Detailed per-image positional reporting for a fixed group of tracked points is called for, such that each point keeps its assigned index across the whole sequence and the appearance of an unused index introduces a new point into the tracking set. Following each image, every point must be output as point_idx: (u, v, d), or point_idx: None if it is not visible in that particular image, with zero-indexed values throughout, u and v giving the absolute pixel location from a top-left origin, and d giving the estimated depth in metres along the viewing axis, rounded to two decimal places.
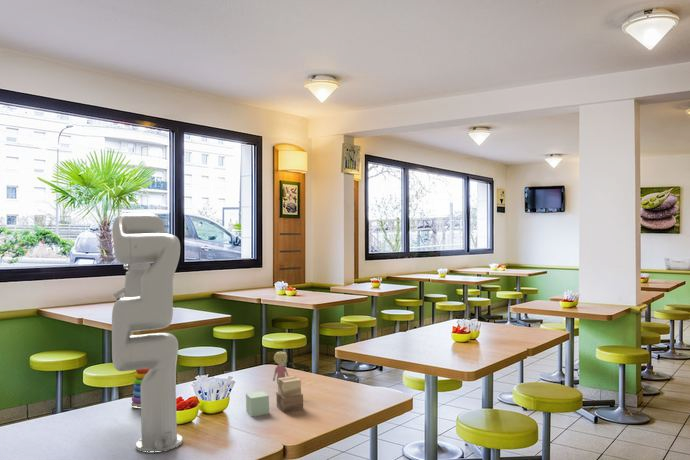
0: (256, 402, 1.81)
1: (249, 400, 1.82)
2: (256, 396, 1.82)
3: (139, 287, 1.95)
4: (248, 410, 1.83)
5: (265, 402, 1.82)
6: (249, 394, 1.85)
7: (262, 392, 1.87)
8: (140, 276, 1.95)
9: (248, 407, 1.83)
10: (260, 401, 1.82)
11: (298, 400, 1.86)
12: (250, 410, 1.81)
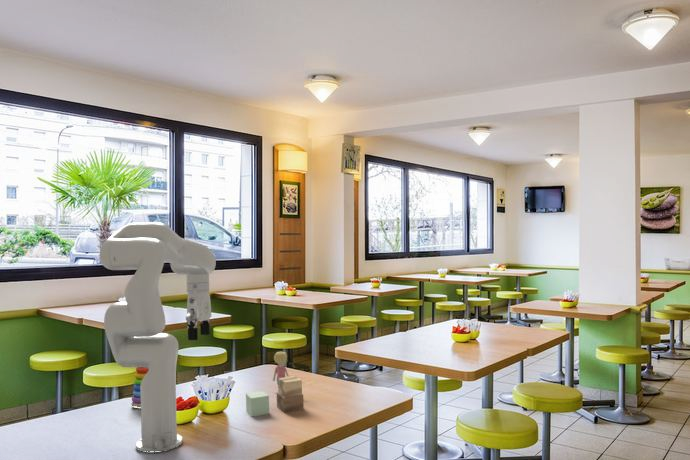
0: (256, 402, 1.81)
1: (249, 400, 1.82)
2: (256, 396, 1.82)
3: (205, 307, 1.90)
4: (248, 410, 1.83)
5: (265, 402, 1.82)
6: (249, 394, 1.85)
7: (262, 392, 1.87)
8: (205, 296, 1.91)
9: (248, 407, 1.83)
10: (260, 401, 1.82)
11: (298, 400, 1.86)
12: (250, 410, 1.81)
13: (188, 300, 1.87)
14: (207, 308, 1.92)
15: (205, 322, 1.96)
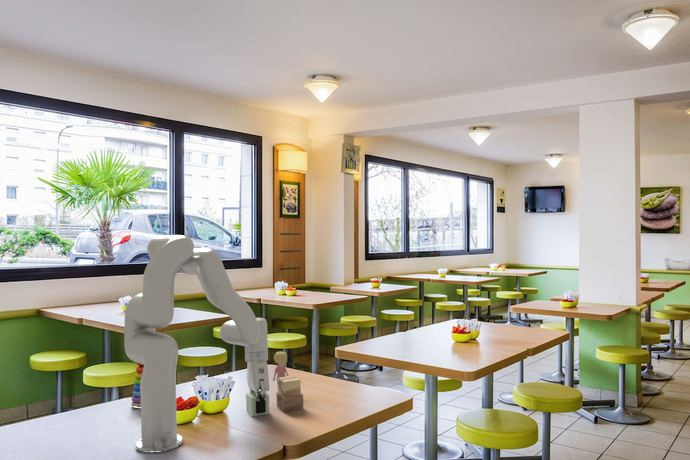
0: None
1: (249, 400, 1.82)
2: None
3: None
4: (248, 410, 1.83)
5: None
6: (249, 394, 1.85)
7: None
8: None
9: (248, 407, 1.83)
10: None
11: (298, 400, 1.86)
12: (250, 410, 1.81)
13: (256, 370, 1.80)
14: None
15: None
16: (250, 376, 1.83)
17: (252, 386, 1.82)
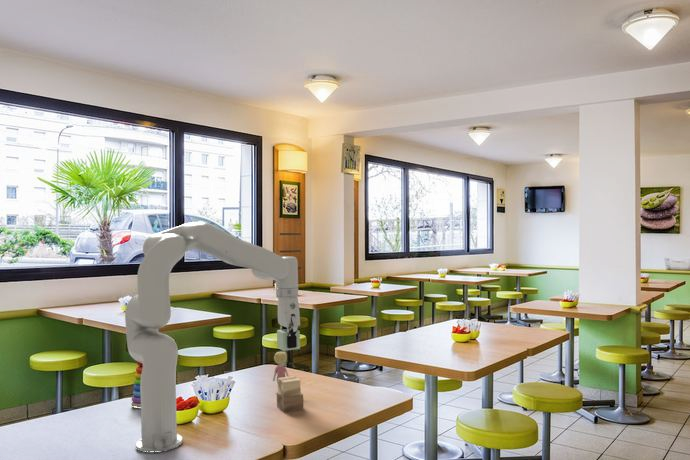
0: None
1: (280, 335, 1.86)
2: None
3: None
4: (279, 345, 1.87)
5: None
6: (280, 330, 1.89)
7: None
8: None
9: (279, 342, 1.87)
10: None
11: (298, 400, 1.86)
12: (282, 345, 1.85)
13: (288, 306, 1.84)
14: None
15: None
16: (281, 312, 1.87)
17: (283, 322, 1.86)
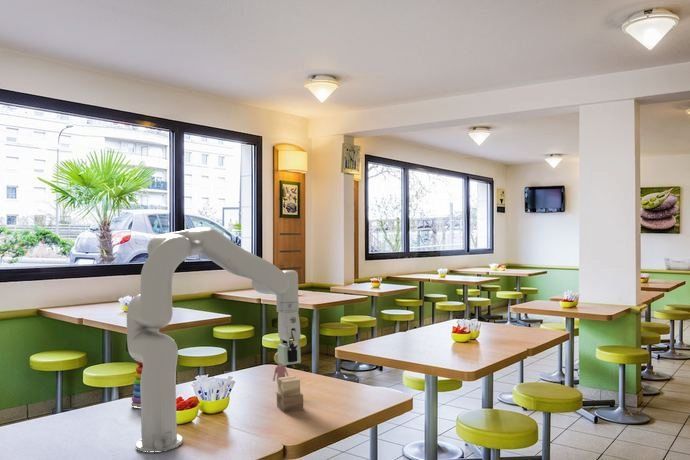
0: None
1: (281, 349, 1.86)
2: None
3: None
4: (280, 359, 1.87)
5: (297, 351, 1.86)
6: (281, 344, 1.89)
7: None
8: None
9: (280, 356, 1.87)
10: None
11: (298, 400, 1.86)
12: (282, 359, 1.85)
13: (288, 320, 1.84)
14: None
15: None
16: (282, 326, 1.87)
17: (284, 336, 1.86)
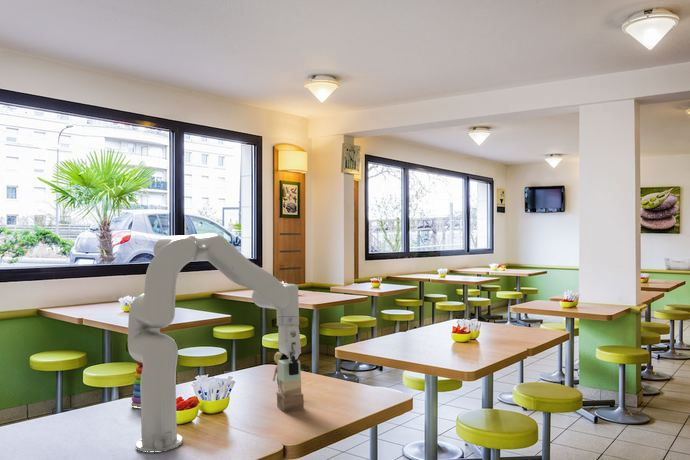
0: (288, 368, 1.85)
1: (281, 366, 1.86)
2: (288, 362, 1.86)
3: None
4: (280, 376, 1.87)
5: None
6: (281, 361, 1.89)
7: None
8: None
9: (280, 373, 1.87)
10: None
11: (298, 400, 1.86)
12: (282, 376, 1.85)
13: (288, 334, 1.84)
14: None
15: (285, 356, 1.92)
16: (282, 340, 1.87)
17: (284, 350, 1.86)
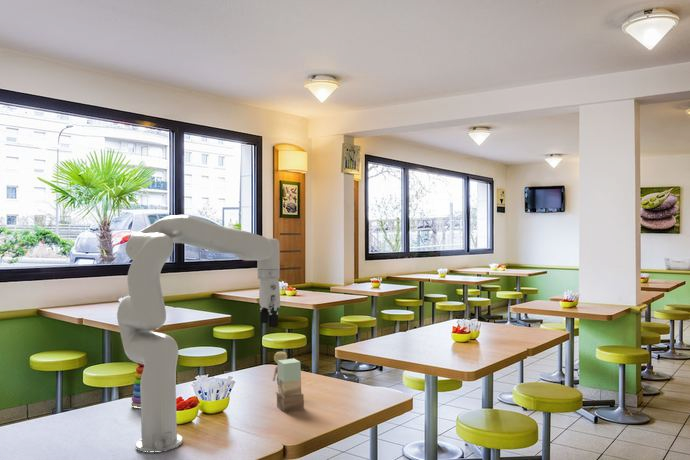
0: (288, 368, 1.85)
1: (281, 366, 1.86)
2: (288, 362, 1.86)
3: None
4: (280, 376, 1.87)
5: (297, 368, 1.86)
6: (281, 361, 1.89)
7: (293, 359, 1.91)
8: None
9: (280, 373, 1.87)
10: (292, 367, 1.86)
11: (298, 400, 1.86)
12: (282, 376, 1.85)
13: (268, 287, 1.85)
14: None
15: (265, 310, 1.94)
16: (262, 293, 1.88)
17: (264, 303, 1.87)
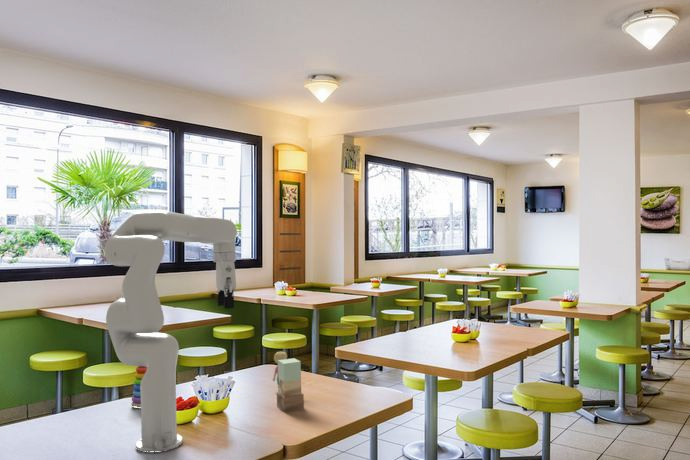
0: (288, 367, 1.85)
1: (281, 366, 1.86)
2: (288, 362, 1.86)
3: None
4: (280, 376, 1.88)
5: (297, 368, 1.86)
6: (281, 360, 1.89)
7: (294, 359, 1.91)
8: None
9: (280, 373, 1.87)
10: (292, 367, 1.86)
11: (298, 400, 1.86)
12: (282, 375, 1.85)
13: (223, 269, 1.88)
14: None
15: (223, 293, 1.97)
16: (218, 276, 1.90)
17: (220, 285, 1.90)
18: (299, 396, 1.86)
